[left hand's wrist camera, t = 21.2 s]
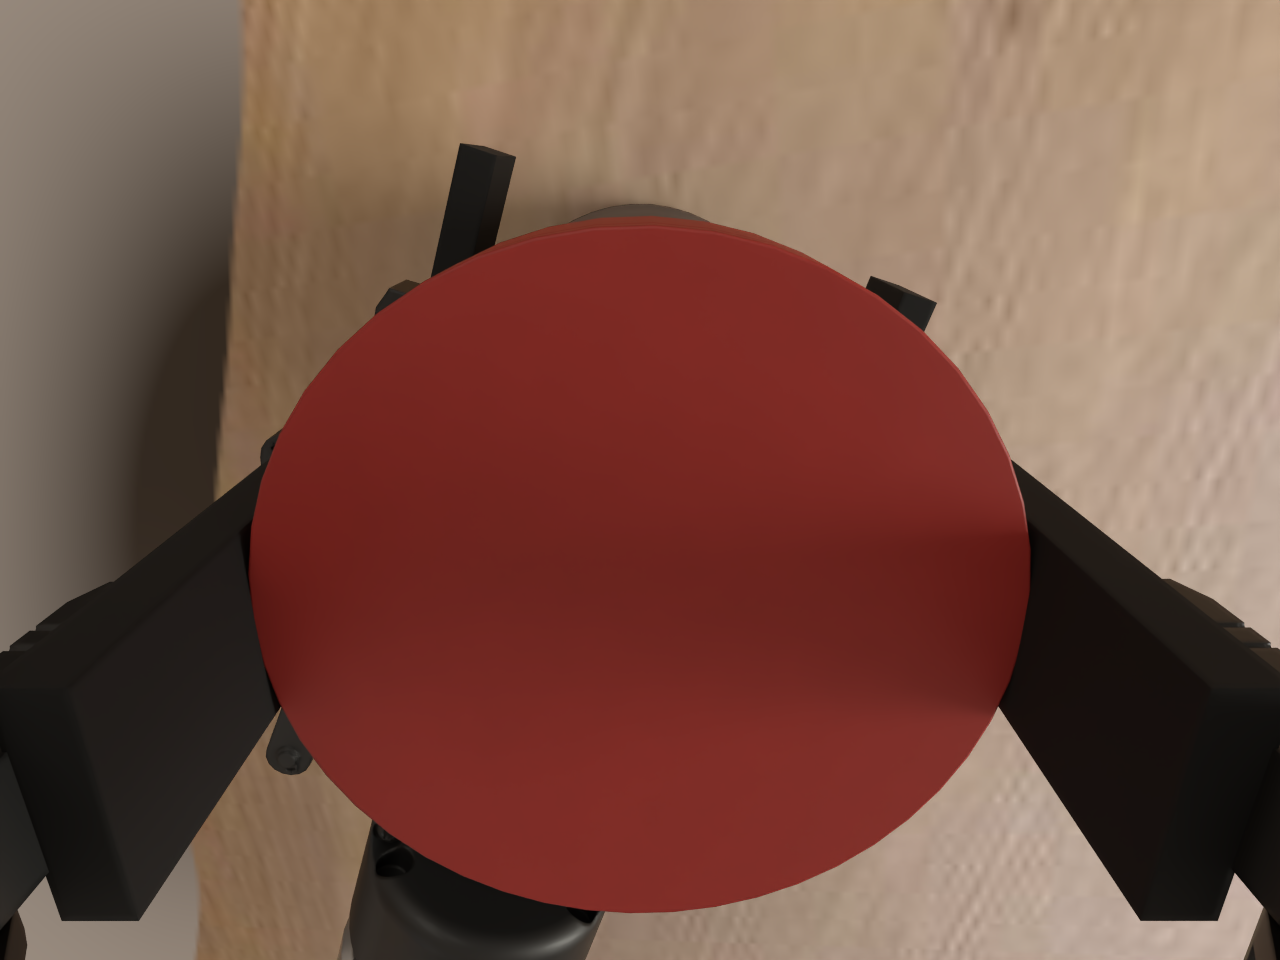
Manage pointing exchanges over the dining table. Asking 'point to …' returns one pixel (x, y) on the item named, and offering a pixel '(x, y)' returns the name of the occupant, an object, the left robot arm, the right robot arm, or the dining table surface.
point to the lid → (639, 567)
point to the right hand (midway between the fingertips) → (701, 221)
